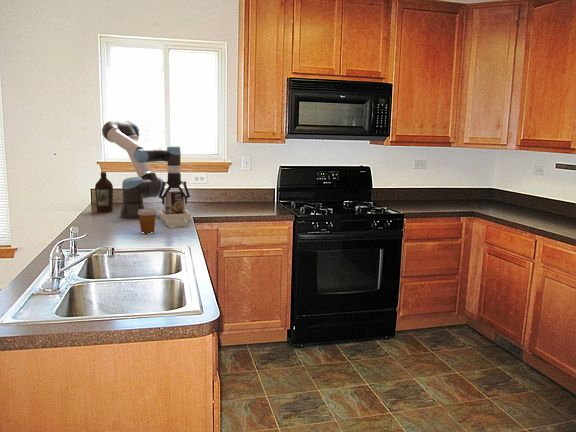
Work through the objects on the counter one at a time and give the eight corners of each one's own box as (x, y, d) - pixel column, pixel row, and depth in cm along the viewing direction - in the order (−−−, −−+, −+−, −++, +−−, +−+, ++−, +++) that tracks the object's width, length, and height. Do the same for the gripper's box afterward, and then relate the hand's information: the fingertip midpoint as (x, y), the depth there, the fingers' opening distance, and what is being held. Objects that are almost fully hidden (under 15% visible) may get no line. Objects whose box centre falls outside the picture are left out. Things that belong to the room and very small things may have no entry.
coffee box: (172, 220, 291) (171, 192, 288) (165, 218, 295) (164, 191, 292) (184, 218, 298) (184, 191, 296) (177, 216, 302) (176, 190, 299)
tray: (167, 227, 270) (167, 222, 269) (164, 222, 283) (164, 217, 282) (188, 226, 274) (187, 221, 273) (184, 222, 286) (183, 216, 286)
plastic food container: (162, 221, 286) (162, 214, 285) (159, 216, 302) (159, 210, 301) (190, 220, 292) (190, 213, 291) (185, 215, 307) (185, 209, 307)
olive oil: (98, 210, 319) (96, 171, 315) (115, 210, 320) (113, 171, 316) (94, 212, 309) (92, 172, 304) (111, 212, 310) (110, 172, 306)
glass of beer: (150, 230, 262) (149, 207, 260) (161, 233, 256) (160, 210, 254) (134, 232, 254) (133, 209, 252) (145, 235, 249) (144, 212, 246)
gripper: (154, 173, 284) (155, 211, 288) (194, 173, 293) (195, 209, 296) (153, 172, 291) (154, 209, 295) (192, 171, 299) (192, 207, 303)
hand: (174, 209), depth 296 cm, fingers closed on coffee box, 11 cm apart
